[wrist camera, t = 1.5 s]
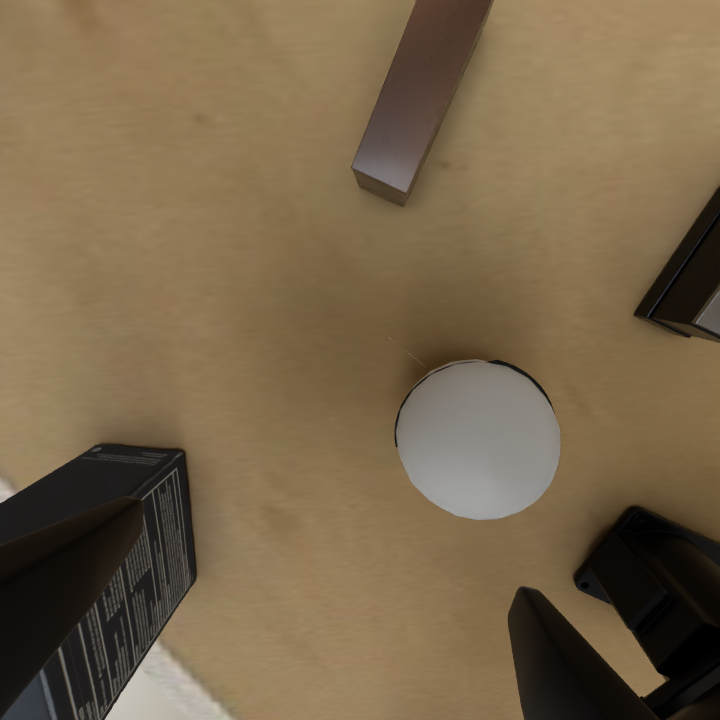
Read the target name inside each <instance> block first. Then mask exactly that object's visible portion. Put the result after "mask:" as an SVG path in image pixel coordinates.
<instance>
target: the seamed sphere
mask: <svg viewBox="0 0 720 720" xmlns="http://www.w3.org/2000/svg"><path fill="white" fill-rule="evenodd" d="M388 338H389V337H388ZM389 339H390V338H389ZM391 340H392V339H391ZM392 341H393V340H392ZM396 344H397V343H396ZM397 345H398V344H397ZM403 350H404V349H403ZM404 351H405V350H404ZM408 354H409V353H408ZM409 355H410V354H409ZM412 357H413V356H412ZM413 358H414V357H413ZM415 359H416V358H415ZM416 360H417V359H416ZM421 364H422V363H421ZM422 365H423V364H422ZM423 366H424V365H423ZM395 444H396V447H398V453H399V456H400V458H401V461H402V464H403V466H404V468H405V470H406V472H407V474H408V476H409V478H410V480H411V482H412V484H413V485H414V486H415V487H416V488H417V489H418V490H419V491H420V492H421V493H422V494H423V495H424V496H425V497H426V498H427V499H428V500H430V501H431V502H433V503H434V504H436V505H437V506H439V507H441V508H443V509H444V510H446V511H448V512H450V513H452V514H454V515H456V516H460V517H465V518H470V519H474V520H487V519H500V518H503V517H506V516H509V515H512V514H515V513H518V512H521V511H522V510H524V509H525V508H527V507H528V506H530V505H531V504H533V503H534V502H536V501H537V500H538V499H539V498H540V497H541V495H542V494H543V493H544V492H545V491H546V489H547V488H548V487H549V486H550V484H551V483H552V480H553V477H554V475H555V472H556V469H557V467H558V463H559V458H560V427H559V425H558V422H557V420H556V417H555V414H554V410H553V407H552V404H551V402H550V400H549V398H548V396H547V394H546V393H545V391H544V390H543V389H542V387H541V386H540V385H539V384H538V383H537V382H536V381H535V379H533V378H532V377H531V376H530V375H528V374H527V373H526V372H524V371H523V370H521V369H519V368H518V367H516V366H513V365H511V364H509V363H506V362H503V361H500V360H494V361H483V360H478V359H471V360H461V361H452V362H450V363H448V364H445V365H443V366H441V367H438V368H436V369H434V370H431V371H430V372H429V373H428V374H427V375H425V376H424V377H423V378H422V379H421V380H419V381H418V382H417V383H416V384H415V385H414V386H413V388H412V390H411V391H410V393H409V394H408V395H407V396H406V398H405V400H404V401H403V403H402V405H401V407H400V410H399V412H398V415H397V419H396V424H395Z"/></svg>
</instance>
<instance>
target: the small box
mask: <svg viewBox="0 0 720 720" xmlns="http://www.w3.org/2000/svg"><path fill="white" fill-rule="evenodd" d="M124 496H130V497H134V498H139V499H141V500H142V501H143V503H144V520H143V531H142V534H141V536H140V538H139V539H138V541H137V542H136V544H135V545H134V547H133V548H132V550H131V551H130V553H129V554H128V556H127V557H126V559H125V560H124V562H123V563H122V565H121V566H120V567H119V569H118V570H117V572H116V573H115V575H114V576H113V578H112V579H111V581H110V582H109V584H108V585H107V587H106V588H105V590H104V591H103V593H102V594H101V595H100V597H99V598H98V600H97V601H96V602H95V604H94V605H93V606H92V608H91V609H90V610H89V611H88V613H87V614H86V615H85V617H84V618H83V619H82V620H81V621H80V623H79V624H78V625H77V626H76V628H75V629H74V630H73V631H72V633H71V634H70V635H69V636H68V638H67V639H66V640H65V641H64V643H63V644H62V645H61V646H60V647H59V649H58V650H57V651H56V652H55V654H54V655H53V656H52V657H51V659H50V660H49V661H48V662H47V664H46V665H45V666H44V667H43V669H42V670H41V671H40V672H39V673H38V675H37V676H36V677H35V678H34V680H33V681H32V682H31V683H30V685H29V686H28V687H27V688H26V690H25V691H24V692H23V693H22V694H21V696H20V697H19V698H18V699H17V701H16V702H15V703H14V704H13V706H12V707H11V708H10V709H9V711H8V712H7V713H6V714H5V716H4V717H3V718H2V719H1V720H105V718H106V716H107V715H108V713H109V712H110V710H111V709H112V707H113V705H114V703H115V702H116V701H117V700H118V698H119V696H120V694H121V692H122V691H123V690H124V688H125V687H126V685H127V683H128V682H129V681H130V679H131V678H132V676H133V675H134V673H135V672H136V670H137V668H138V667H139V665H140V664H141V662H142V661H143V659H144V658H145V656H146V655H147V653H148V652H149V650H150V648H151V647H152V645H153V644H154V642H155V641H156V639H157V638H158V636H159V635H160V633H161V632H162V630H163V628H164V627H165V625H166V624H167V622H168V621H169V619H170V618H171V616H172V615H173V613H174V612H175V610H176V608H177V607H178V606H179V604H180V603H181V601H182V600H183V598H184V597H185V596H186V594H187V592H188V591H189V589H190V588H191V587H192V585H193V584H194V582H195V581H196V572H195V561H194V550H193V541H192V530H191V521H190V510H189V501H188V491H187V480H186V471H185V462H184V454H183V453H182V452H180V451H174V450H160V449H158V450H156V449H145V448H135V447H124V446H121V445H95V446H94V447H92V448H91V449H89V450H88V451H86V452H84V453H83V454H81V455H79V456H78V457H76V458H75V459H73V460H71V461H70V462H68V463H66V464H65V465H63V466H61V467H60V468H58V469H56V470H55V471H53V472H52V473H50V474H48V475H46V476H45V477H43V478H42V479H40V480H38V481H37V482H35V483H33V484H32V485H30V486H28V487H27V488H25V489H24V490H22V491H20V492H18V493H17V494H15V495H13V496H12V497H10V498H8V499H7V500H5V501H4V502H2V503H0V545H1V544H4V543H6V542H9V541H11V540H14V539H16V538H19V537H21V536H24V535H27V534H29V533H32V532H34V531H37V530H39V529H42V528H44V527H47V526H49V525H52V524H55V523H57V522H60V521H62V520H65V519H67V518H70V517H72V516H75V515H77V514H80V513H83V512H85V511H88V510H90V509H93V508H95V507H98V506H100V505H103V504H105V503H108V502H111V501H113V500H116V499H118V498H121V497H124Z"/></svg>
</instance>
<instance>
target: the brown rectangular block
mask: <svg viewBox="0 0 720 720" xmlns="http://www.w3.org/2000/svg"><path fill="white" fill-rule="evenodd" d="M493 2H494V0H417V1H416V4H415V6H414V9H413V11H412V14H411V16H410V19H409V21H408V24H407V26H406V29H405V32H404V34H403V37H402V39H401V42H400V44H399V47H398V49H397V52H396V54H395V57H394V60H393V62H392V65H391V67H390V70H389V72H388V75H387V77H386V80H385V82H384V85H383V88H382V90H381V93H380V95H379V98H378V100H377V103H376V105H375V108H374V110H373V113H372V116H371V118H370V121H369V123H368V126H367V128H366V131H365V133H364V136H363V138H362V141H361V144H360V146H359V149H358V151H357V154H356V156H355V159H354V161H353V164H352V166H351V168H352V170H353V172H354V175H355V177H356V179H357V182H358V184H359V186H360V187H362V188H364V189H366V190H368V191H370V192H372V193H375V194H377V195H379V196H381V197H383V198H385V199H387V200H389V201H392V202H394V203H396V204H398V205H400V206H402V207H404V206H405V204H406V202H407V199H408V197H409V195H410V193H411V190H412V188H413V186H414V184H415V181H416V179H417V177H418V175H419V172H420V170H421V168H422V166H423V163H424V161H425V159H426V157H427V154H428V152H429V150H430V148H431V145H432V143H433V141H434V139H435V136H436V134H437V132H438V130H439V127H440V125H441V123H442V121H443V118H444V116H445V114H446V112H447V110H448V107H449V105H450V103H451V101H452V98H453V96H454V94H455V92H456V89H457V87H458V85H459V83H460V80H461V78H462V76H463V74H464V71H465V69H466V67H467V65H468V62H469V60H470V58H471V56H472V53H473V51H474V49H475V47H476V44H477V42H478V40H479V38H480V35H481V33H482V31H483V28H484V26H485V23H486V20H487V18H488V15H489V12H490V10H491V7H492V4H493Z"/></svg>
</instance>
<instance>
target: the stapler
mask: <svg viewBox="0 0 720 720" xmlns="http://www.w3.org/2000/svg"><path fill="white" fill-rule="evenodd" d="M634 315H635V316H636V317H639V318H641V319H643V320H645V321H647V322H649V323H651V324H653V325H656V326H658V327H660V328H662V329H664V330H666V331H668V332H670V333H673V334H675V335H678V336H682V337H687V338H690V337H691V336H694V337H698V338H702V339H706V340H710V341H715V342H719V343H720V187H719V189H718V190H717V192H716V193H715V195H714V196H713V198H712V199H711V201H710V202H709V203H708V205H707V206H706V208H705V209H704V211H703V212H702V214H701V215H700V217H699V218H698V220H697V221H696V223H695V224H694V226H693V227H692V229H691V230H690V232H689V233H688V235H687V236H686V238H685V239H684V241H683V242H682V244H681V245H680V246H679V248H678V249H677V251H676V252H675V254H674V255H673V257H672V258H671V260H670V261H669V263H668V264H667V266H666V267H665V269H664V270H663V272H662V273H661V275H660V276H659V278H658V279H657V281H656V282H655V284H654V285H653V286H652V288H651V289H650V291H649V292H648V294H647V295H646V297H645V298H644V300H643V301H642V303H641V304H640V306H639V307H638V309H637V310H636V312H635V313H634Z"/></svg>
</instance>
